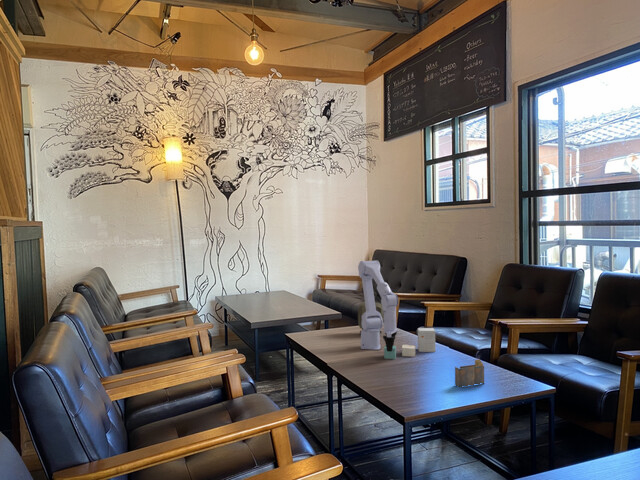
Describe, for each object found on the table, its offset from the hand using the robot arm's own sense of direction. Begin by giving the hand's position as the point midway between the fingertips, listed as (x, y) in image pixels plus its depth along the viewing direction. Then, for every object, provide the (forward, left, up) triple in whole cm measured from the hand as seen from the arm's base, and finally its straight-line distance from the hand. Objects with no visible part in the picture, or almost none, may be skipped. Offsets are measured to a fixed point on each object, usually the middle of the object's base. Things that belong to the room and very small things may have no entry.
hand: (390, 349), depth 213 cm
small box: (+17, +15, -4) cm, 23 cm away
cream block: (+8, +6, -4) cm, 11 cm away
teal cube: (0, 0, -4) cm, 4 cm away
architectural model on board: (+33, -31, -5) cm, 45 cm away
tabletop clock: (-14, +42, -4) cm, 45 cm away
